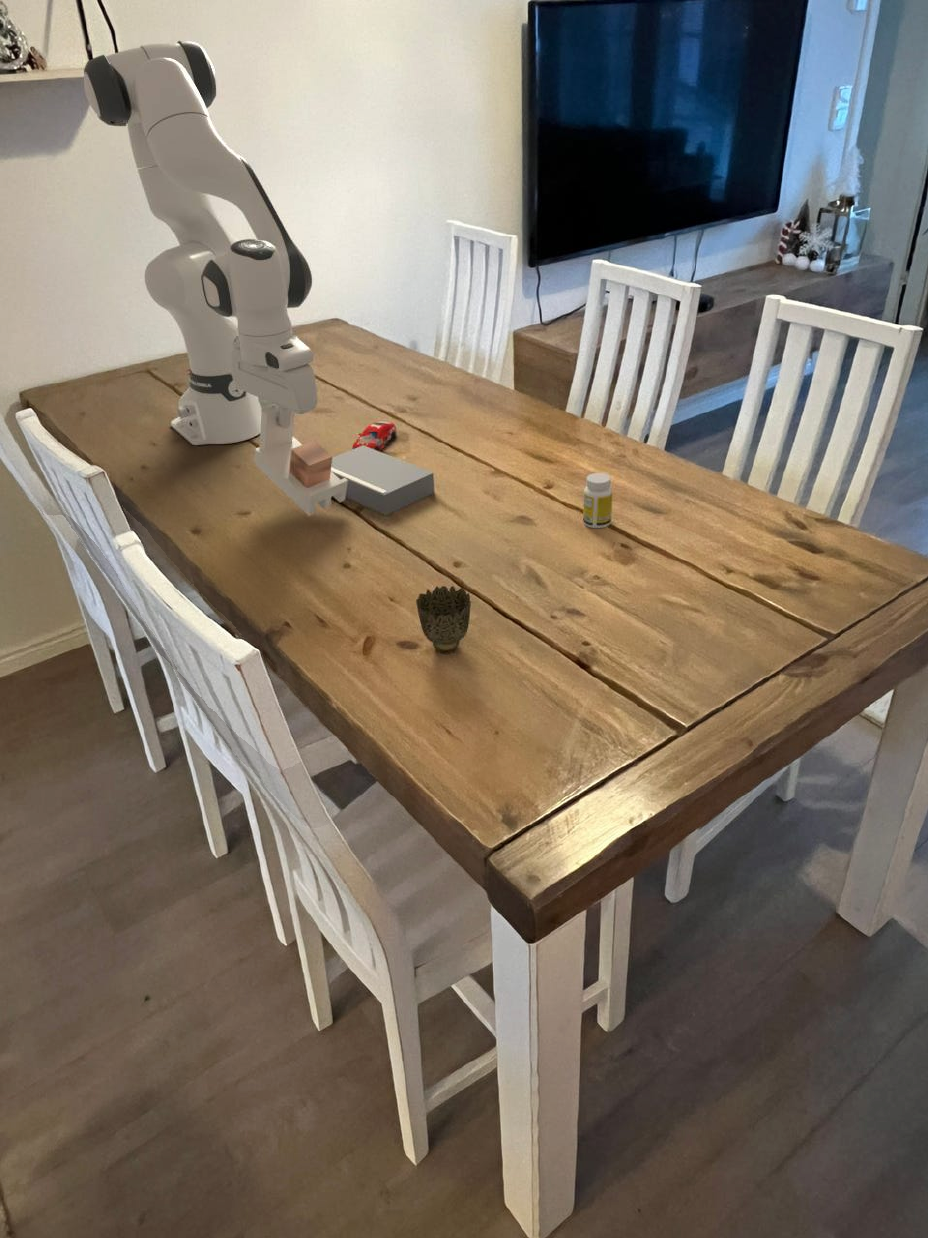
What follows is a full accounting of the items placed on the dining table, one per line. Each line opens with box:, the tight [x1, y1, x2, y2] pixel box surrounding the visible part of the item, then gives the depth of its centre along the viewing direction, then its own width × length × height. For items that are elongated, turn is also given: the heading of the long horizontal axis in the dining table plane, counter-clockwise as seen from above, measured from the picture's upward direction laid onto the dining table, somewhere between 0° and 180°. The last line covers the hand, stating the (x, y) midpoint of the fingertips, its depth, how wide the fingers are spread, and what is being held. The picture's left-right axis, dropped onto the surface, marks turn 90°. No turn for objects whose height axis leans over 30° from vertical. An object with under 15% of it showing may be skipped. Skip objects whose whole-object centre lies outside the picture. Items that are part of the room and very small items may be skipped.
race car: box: [352, 421, 397, 452], centre depth 187 cm, size 13×5×4 cm, turn 157°
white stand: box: [253, 404, 348, 517], centre depth 158 cm, size 16×8×11 cm, turn 46°
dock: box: [331, 445, 435, 516], centre depth 169 cm, size 20×12×4 cm, turn 45°
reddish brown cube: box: [289, 440, 334, 488], centre depth 157 cm, size 5×5×5 cm
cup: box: [415, 585, 472, 653], centre depth 124 cm, size 8×7×8 cm
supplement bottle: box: [582, 472, 613, 529], centre depth 153 cm, size 5×5×8 cm
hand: (278, 424), depth 159 cm, fingers closed on white stand, 2 cm apart
